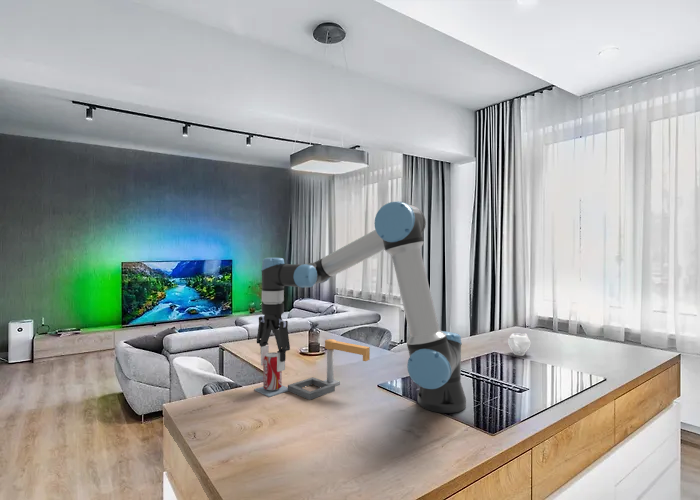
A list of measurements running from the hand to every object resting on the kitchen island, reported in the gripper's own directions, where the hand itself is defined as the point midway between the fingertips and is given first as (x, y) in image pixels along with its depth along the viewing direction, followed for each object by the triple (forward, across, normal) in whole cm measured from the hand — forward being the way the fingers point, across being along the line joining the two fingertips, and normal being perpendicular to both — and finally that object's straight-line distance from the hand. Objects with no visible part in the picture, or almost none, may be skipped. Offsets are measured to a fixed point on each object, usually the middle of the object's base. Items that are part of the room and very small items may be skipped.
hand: (272, 367), depth 141 cm
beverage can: (+8, 0, 0) cm, 8 cm away
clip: (-4, -17, -19) cm, 26 cm away
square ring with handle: (+8, -10, -12) cm, 17 cm away
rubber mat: (+8, 0, 0) cm, 8 cm away
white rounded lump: (+8, -43, -107) cm, 116 cm away
